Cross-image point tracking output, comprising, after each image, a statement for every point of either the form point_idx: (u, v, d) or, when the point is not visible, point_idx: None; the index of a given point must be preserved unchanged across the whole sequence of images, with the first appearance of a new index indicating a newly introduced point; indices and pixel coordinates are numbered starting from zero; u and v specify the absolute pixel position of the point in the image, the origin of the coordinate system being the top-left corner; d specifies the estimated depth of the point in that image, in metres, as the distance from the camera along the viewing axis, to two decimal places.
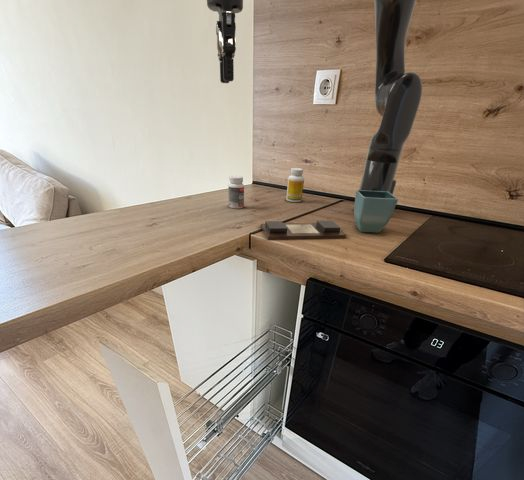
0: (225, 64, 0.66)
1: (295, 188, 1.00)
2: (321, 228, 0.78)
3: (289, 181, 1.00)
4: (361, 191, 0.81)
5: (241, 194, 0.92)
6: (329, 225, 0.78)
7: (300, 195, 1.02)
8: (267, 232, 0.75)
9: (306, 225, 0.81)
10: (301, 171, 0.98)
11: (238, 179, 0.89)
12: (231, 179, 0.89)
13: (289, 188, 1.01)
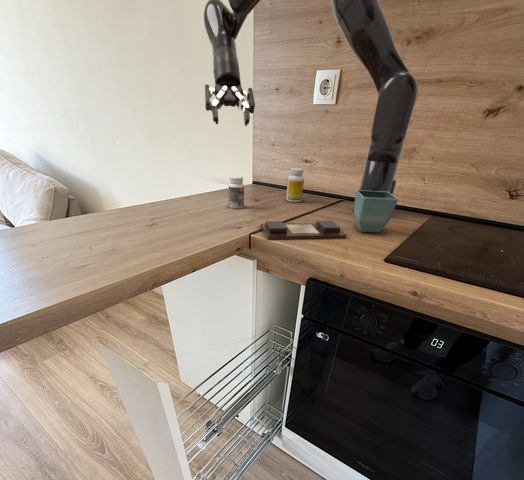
0: None
1: (295, 188, 1.00)
2: (321, 228, 0.78)
3: (289, 181, 1.00)
4: (361, 191, 0.81)
5: (241, 194, 0.92)
6: (329, 225, 0.78)
7: (300, 195, 1.02)
8: (267, 232, 0.75)
9: (306, 225, 0.81)
10: (301, 171, 0.98)
11: (238, 179, 0.89)
12: (231, 179, 0.89)
13: (289, 188, 1.01)
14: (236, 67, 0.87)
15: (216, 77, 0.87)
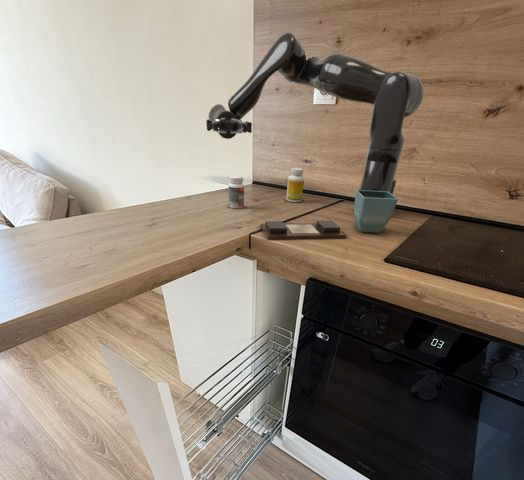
0: None
1: (295, 188, 1.00)
2: (321, 228, 0.78)
3: (289, 181, 1.00)
4: (361, 191, 0.81)
5: (241, 194, 0.92)
6: (329, 225, 0.78)
7: (300, 195, 1.02)
8: (267, 232, 0.75)
9: (306, 225, 0.81)
10: (301, 171, 0.98)
11: (238, 179, 0.89)
12: (231, 179, 0.89)
13: (289, 188, 1.01)
14: None
15: (216, 118, 0.99)
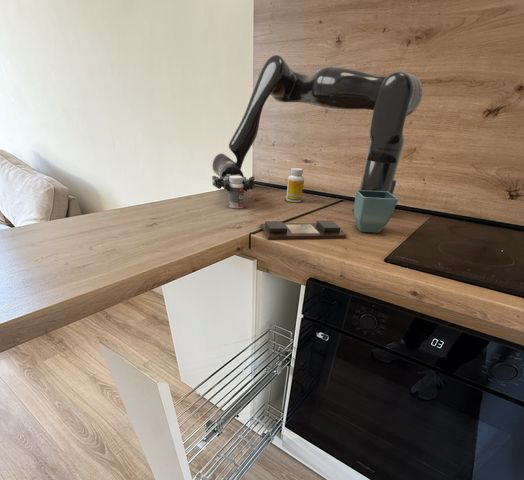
0: None
1: (295, 188, 1.00)
2: (321, 228, 0.78)
3: (289, 181, 1.00)
4: (361, 191, 0.81)
5: (241, 194, 0.92)
6: (329, 225, 0.78)
7: (300, 195, 1.02)
8: (267, 232, 0.75)
9: (306, 225, 0.81)
10: (301, 171, 0.98)
11: (238, 179, 0.89)
12: (231, 179, 0.89)
13: (289, 188, 1.01)
14: (239, 168, 1.00)
15: (221, 173, 0.98)
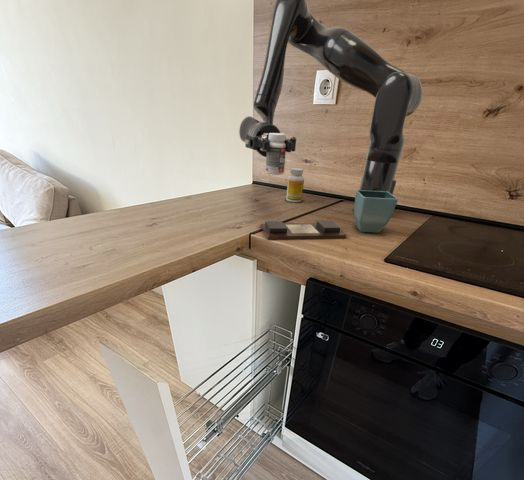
0: None
1: (295, 188, 1.00)
2: (321, 228, 0.78)
3: (289, 181, 1.00)
4: (361, 191, 0.81)
5: (282, 156, 0.75)
6: (329, 225, 0.78)
7: (300, 195, 1.02)
8: (267, 232, 0.75)
9: (306, 225, 0.81)
10: (301, 171, 0.98)
11: (280, 136, 0.72)
12: (271, 136, 0.72)
13: (289, 188, 1.01)
14: None
15: (256, 133, 0.81)
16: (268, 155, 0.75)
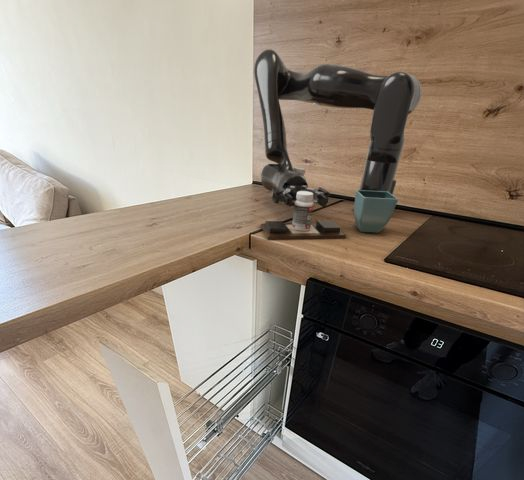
0: None
1: None
2: (321, 228, 0.78)
3: None
4: (361, 191, 0.81)
5: (310, 214, 0.75)
6: (329, 225, 0.78)
7: None
8: (267, 232, 0.75)
9: None
10: (303, 171, 0.98)
11: (309, 196, 0.72)
12: (300, 196, 0.72)
13: None
14: None
15: (282, 184, 0.80)
16: (295, 213, 0.75)
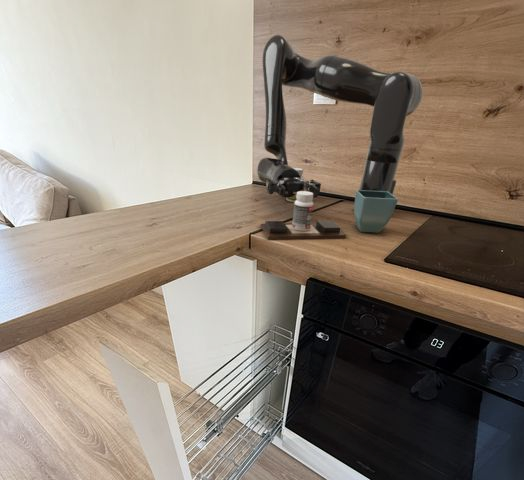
0: None
1: None
2: (321, 228, 0.78)
3: None
4: (361, 191, 0.81)
5: (310, 214, 0.75)
6: (329, 225, 0.78)
7: None
8: (267, 232, 0.75)
9: None
10: (301, 171, 0.98)
11: (309, 196, 0.72)
12: (300, 196, 0.72)
13: None
14: None
15: (277, 176, 0.85)
16: (295, 213, 0.75)
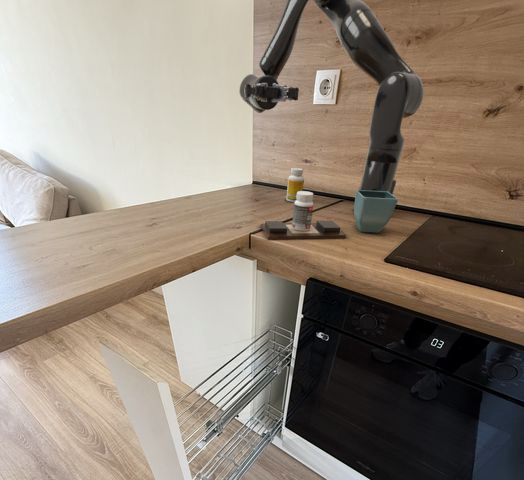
0: (255, 94, 0.78)
1: (295, 188, 1.00)
2: (321, 228, 0.78)
3: (289, 181, 1.00)
4: (361, 191, 0.81)
5: (310, 214, 0.75)
6: (329, 225, 0.78)
7: None
8: (267, 232, 0.75)
9: None
10: (301, 171, 0.98)
11: (309, 196, 0.72)
12: (300, 196, 0.72)
13: (289, 188, 1.01)
14: None
15: None
16: (295, 213, 0.75)
